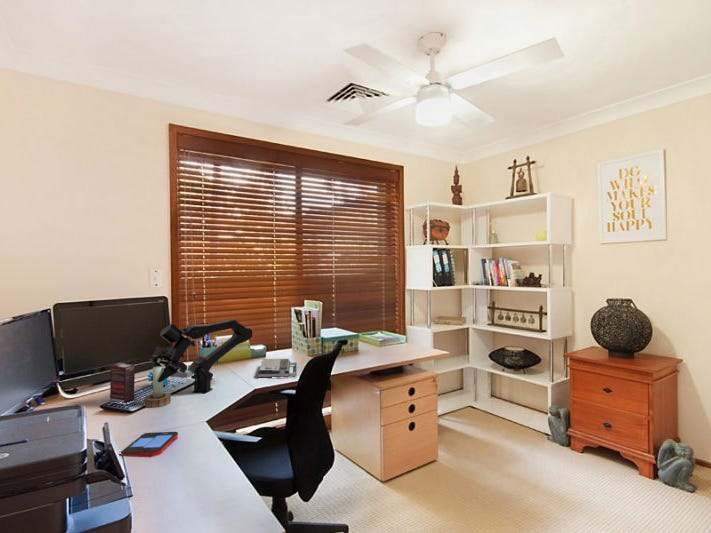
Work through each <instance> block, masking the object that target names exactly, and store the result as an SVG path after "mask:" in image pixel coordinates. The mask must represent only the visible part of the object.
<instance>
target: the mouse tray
mask: <svg viewBox="0 0 711 533" xmlns="http://www.w3.org/2000/svg"><path fill="white" fill-rule="evenodd" d="M190 365H191V364H190ZM190 365H189V364H188V370H187V371H186V372H185V373H183V372H179V371H178V373H175V374H173V375H172V376H171V377H174V376H178V378H184V377H186V379H187V377H188V378H190V377H193V376H194V375H193V373H191V371H190V369H189V368H190ZM192 375H193V376H192Z"/></svg>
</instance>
